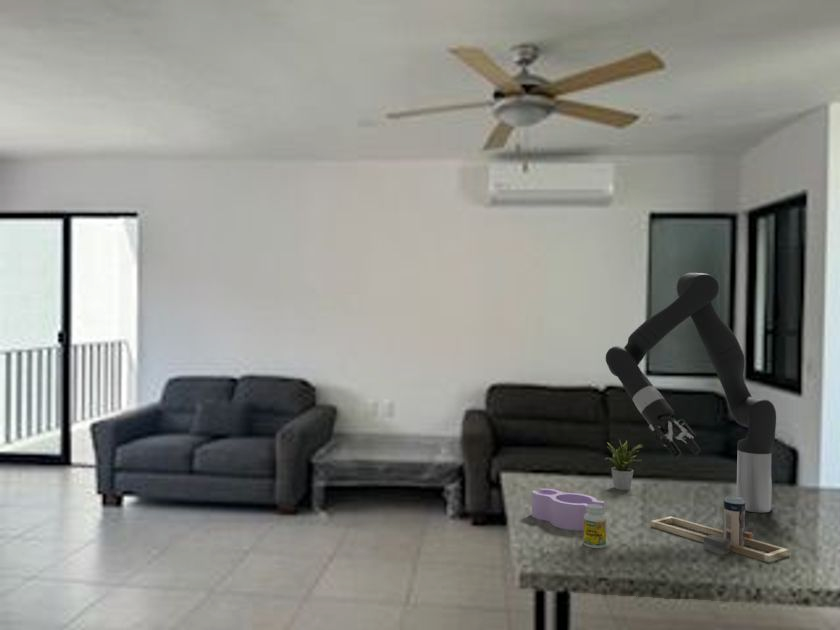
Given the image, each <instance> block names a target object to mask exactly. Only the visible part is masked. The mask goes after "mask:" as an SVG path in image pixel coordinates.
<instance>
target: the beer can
mask: <svg viewBox="0 0 840 630" xmlns="http://www.w3.org/2000/svg"><path fill="white" fill-rule="evenodd" d="M745 525H746V511H745V501H744V499H743V498H742V497H740V496H737V495H732V494H730V495H728V494H727V495H726V496H725V497H724V499H723V530H722V531H723V538H724V539H727V540H730V543H732V544H736V545H739V546H743V547H745V544H744V534H745V528H746V527H745Z"/></svg>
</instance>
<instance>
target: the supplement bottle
mask: <svg viewBox="0 0 840 630" xmlns="http://www.w3.org/2000/svg"><path fill="white" fill-rule="evenodd" d="M587 512H588V513H586V514H585V515H584V531H583V544H584V546H586V547H588V548H592V549H602V548H605V547H606V545H607V516H606V515H605V514H604V515H603V514H602V513H603V506H601V505H597V504H589V505H587Z"/></svg>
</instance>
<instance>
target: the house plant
mask: <svg viewBox="0 0 840 630" xmlns="http://www.w3.org/2000/svg"><path fill="white" fill-rule="evenodd" d="M618 440H619V444H620V446H619V447H618V448H616V449H615V448H614V446H613V445H611V444H610V443H609V442H607V444H608V450H610V452H611V453H612V457H605V458H604V460H610V462H612V464H614V467H611V475H612V481H613V488H614V489H616V490H621V491H629V490H631V486H632V482H633V481H632V480H633V477H634V476H633V475H634V469H632V468H630V467H629V465H630V463H632V462H639V463H641V460H639V459H634V458H635V457H637V456H638V455H633V454H634V453H637V452H638V449H640V447H642V444H638V445H636V446H634V447H633V448H632V449H631V450H629V451H628V447H629V445H628V440H627V439H625V442H624V443H623V444H622V442H621V440H620V438H619V439H618ZM632 455H633V456H632Z"/></svg>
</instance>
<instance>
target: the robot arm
mask: <svg viewBox="0 0 840 630" xmlns="http://www.w3.org/2000/svg"><path fill="white" fill-rule="evenodd" d="M719 287H720V286H719V282H718V280H717V279H716V278H715V277H714V276H713V275H711V274H708V273H705V272H703V273H702V272H688V273H685V274H683V275H681V276H680V277H679V279H678V280H677V283H676V292H677V296H678V297H677V298H676V299H675V300H674V301H673V302H672V303H670V304H669V305H668V306H666V307H665V308H664V309H662V310H660V311H658V312H657V313H655V314H654V315H652V316H651V317H649V318H648V319H646V320H645V321H644V322H643V323H641V324H640V325H639V326H638V327H637V328H636V329H635V330H634V331H633V332H632V333H631V334H630V335H629V336H628V339H627V343H626V345H625V346H624V347H622V346H612V347H610V348H609V349H608V350H607V352H606V354H605V362H606V365H607V367H608V369H609V372H610V373H611V374H612V375H613V376H615V377H617V379H618V380H619V381H620V382H621V385H622V386H623V388H624V391H625V392H626V393H627V394H628V396H629V398H630V399H631V400H632V402H633V403H634V405H635V407H636V408H637V410H638V411H639V413H640V414H641V415H642V417H643V418H644V420H645V421H646V422H647V424H648V426H647V430H648V432H650V434H651V436H652V438H653V439H654V440H655V441H656V443H657V444H658V445H659V446H662V445H663V447H666V448H667V449H668V450H669V452H670V453H671V455H673V457H674V458H675V459H678V458H679V457H680V456H681V455H682V450H681V449H680V448H679V447H678V446H677V443H676V442H674V440H673V438H674V439H676V440H679V441H680V440H681V441H682V442H683V443H685V444H686V446H687V447H688V448H689V450H690V451H691V453H692V454H693V455H695V456H696V455H698V454H699V453H700V452H701V451H702V450H701V448H700V446H699V445H698V443H697V442H696V441H695V440H694V438H695V437H697V434H696V433H695V431H694V430H693V429H692V427H690V426H689V424H688V423H687V422H686V421H685V419H683V418H680V419H679V420H676V419H675V418H674V413H675V412H674V409H672V407H671V406H670V405H669V403H668V402H667V400H666V398H665V397H664V396H663V395H662V393H661V392H660V391H659V390H658V389H657V388H656V387H655V386H654V385H653V383H651V381H650V379H649V378H648V377H647V376H646V375H645V374H644V373H643V371H642V370H641V368H640V367H639V364H640V363H641V362H642V360H643V359H644V357H645V356H646V355H647V353H648V352H650V351H651V350H652V349H653V348H654V347H655V346H656V345H657V344H659V342H661V341H662V340H663V339H664V338H665V337H666V336H667V335H668V334H669V333H670V332H672V331H673V330H674V329H675V328H676V327H678V326H679V325H680V324H681V323H683V322H684V321H685V320H687V319H688V318H689V317H690V319H692V322H693V324H694V327H695V328H696V331H697V334H698V335H699V337H700V339H701V342H702V344H703V346H704V350H705V351H706V354H707V356H708V358H709V360H710V363H711V364H712V367H713V368H714V370H715V373H716V375H717V378H718V379H719V381H720V385H721V386H722V389H723V392H724V395H725V398H726V401H727V403H728V407H729V410H730V413H731V415H732V417H733V420H734V421H735V422H736V423H737V424H738V425H740V426H741V427H745V428H747V435H746V437H745V438H741V439H740V440H737V445H736V446H737V447H736V449H737V451H736V452H737V458H736V459H737V460H736V463H737V464H736V496H740V497H742V498H743V499H744V501H745V512H750V513H751V512H752V513H759V514H761V513H770V512H771V509H772V493H773V492H772V488H773V487H772V481H773V479H772V450H773V445H774V444H775V440H776V428H777V411H776V408H775V406H774V404H773V402H772V401H770V400H769V399H765V398H759V397H753V396H752V395H751V393H750V391H749V389H748V387H747V385H746V382H745V378H744V374H745V373H744V371H745V361H746V360H745V359H746V358H745V355H744V351H743V350H742V347H741V345H740V343H739V340H738V338H737V336H736V335H735V334H734V332H733V330H732V329H731V328H730V327H729V326H728V325H727V323H726V322H725V321H724V320H723V319H722V318H721V317H720V315H719V314H718V312H717V311H716V310H715V307H714V306H713V303H712V301H714V300H715V299H716V298H717V296H718V294H719ZM659 437H660V438H659Z"/></svg>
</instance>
